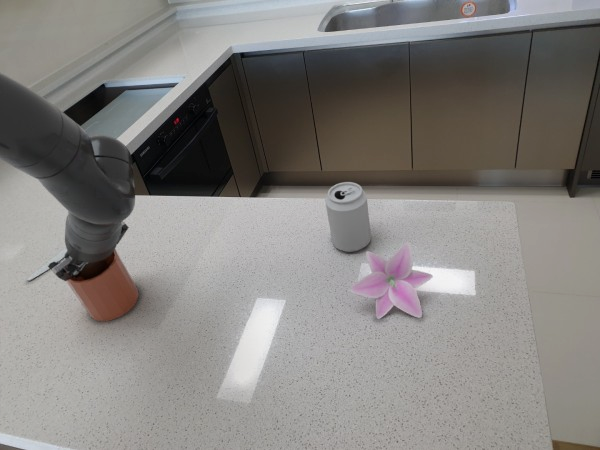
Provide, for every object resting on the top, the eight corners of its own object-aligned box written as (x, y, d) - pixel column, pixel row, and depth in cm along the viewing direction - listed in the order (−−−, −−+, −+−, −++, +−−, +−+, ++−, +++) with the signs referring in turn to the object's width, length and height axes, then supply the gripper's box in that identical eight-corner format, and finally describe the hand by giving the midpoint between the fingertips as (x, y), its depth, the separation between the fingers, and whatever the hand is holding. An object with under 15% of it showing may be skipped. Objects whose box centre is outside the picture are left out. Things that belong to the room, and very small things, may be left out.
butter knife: (124, 206, 113) (116, 203, 114) (32, 282, 96) (23, 278, 97) (125, 208, 113) (117, 205, 114) (33, 284, 96) (24, 280, 98)
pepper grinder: (100, 298, 82) (78, 263, 76) (85, 289, 84) (63, 255, 79) (122, 280, 84) (102, 246, 79) (107, 272, 87) (87, 238, 82)
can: (328, 234, 92) (319, 185, 84) (364, 225, 92) (358, 175, 85) (338, 258, 86) (329, 207, 78) (376, 248, 86) (371, 196, 79)
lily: (342, 309, 77) (344, 295, 68) (366, 248, 81) (371, 227, 72) (411, 337, 75) (423, 326, 66) (432, 273, 79) (446, 255, 70)
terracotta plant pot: (148, 293, 87) (127, 255, 81) (107, 328, 82) (81, 290, 76) (110, 272, 94) (88, 235, 88) (70, 303, 89) (43, 265, 83)
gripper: (115, 186, 73) (105, 225, 87) (31, 239, 64) (35, 273, 78) (148, 220, 73) (133, 254, 87) (69, 278, 65) (66, 305, 79)
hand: (87, 263), depth 83 cm, fingers closed on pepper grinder, 4 cm apart
